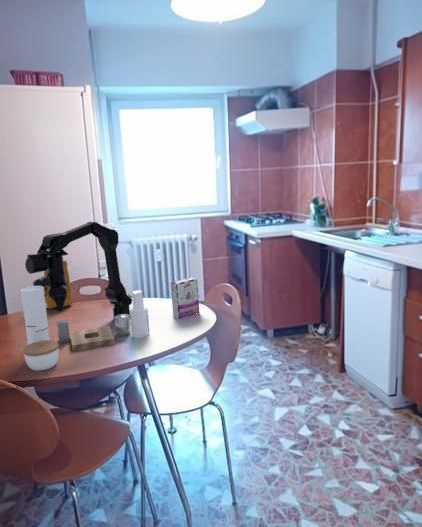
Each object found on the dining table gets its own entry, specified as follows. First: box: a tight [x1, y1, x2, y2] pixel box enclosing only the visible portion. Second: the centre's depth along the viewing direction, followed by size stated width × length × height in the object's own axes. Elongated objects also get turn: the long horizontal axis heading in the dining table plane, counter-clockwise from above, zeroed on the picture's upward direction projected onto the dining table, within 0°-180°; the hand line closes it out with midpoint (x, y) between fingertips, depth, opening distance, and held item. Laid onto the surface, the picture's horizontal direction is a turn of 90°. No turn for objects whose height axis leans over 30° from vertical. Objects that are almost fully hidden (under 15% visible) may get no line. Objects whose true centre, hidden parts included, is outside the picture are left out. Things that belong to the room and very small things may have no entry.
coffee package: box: [43, 260, 73, 309], centre depth 209 cm, size 10×12×22 cm
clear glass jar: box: [114, 314, 132, 338], centre depth 165 cm, size 6×6×8 cm
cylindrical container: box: [20, 285, 51, 345], centre depth 146 cm, size 7×7×25 cm
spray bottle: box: [129, 290, 150, 339], centre depth 162 cm, size 7×7×18 cm
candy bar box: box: [170, 277, 200, 320], centre depth 184 cm, size 11×5×16 cm, turn 129°
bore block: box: [69, 325, 116, 352], centre depth 160 cm, size 15×15×3 cm
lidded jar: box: [22, 339, 60, 372], centre depth 139 cm, size 11×11×9 cm
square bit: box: [56, 319, 71, 344], centre depth 161 cm, size 4×4×8 cm
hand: (60, 308), depth 162 cm, fingers open, 9 cm apart
